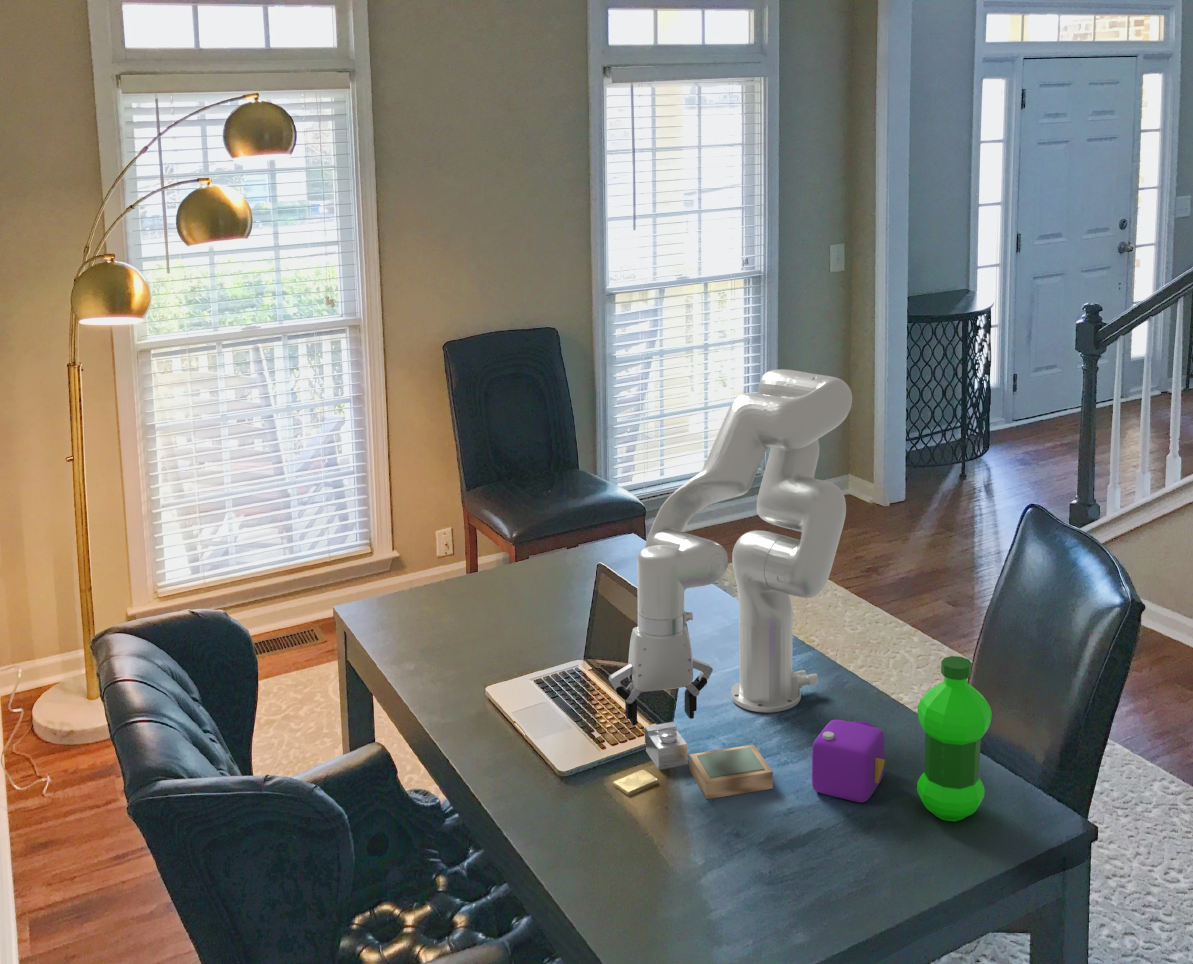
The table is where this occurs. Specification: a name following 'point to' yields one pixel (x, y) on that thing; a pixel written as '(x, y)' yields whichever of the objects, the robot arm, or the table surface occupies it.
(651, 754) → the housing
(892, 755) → the table surface
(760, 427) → the robot arm
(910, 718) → the table surface
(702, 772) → the picture frame
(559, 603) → the table surface
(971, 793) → the plastic bottle
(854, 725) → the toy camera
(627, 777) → the cover plate
